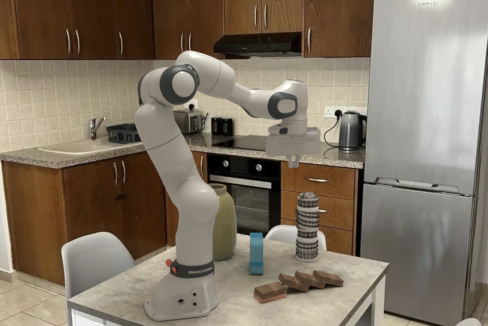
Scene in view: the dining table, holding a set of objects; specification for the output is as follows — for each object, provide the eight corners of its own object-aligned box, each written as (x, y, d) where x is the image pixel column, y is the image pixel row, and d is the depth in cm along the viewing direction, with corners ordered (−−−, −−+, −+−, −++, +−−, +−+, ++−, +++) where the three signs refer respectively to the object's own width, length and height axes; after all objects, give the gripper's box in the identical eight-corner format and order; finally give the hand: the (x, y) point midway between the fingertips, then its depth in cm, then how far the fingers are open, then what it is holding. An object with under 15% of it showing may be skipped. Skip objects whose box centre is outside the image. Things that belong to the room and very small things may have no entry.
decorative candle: (292, 260, 184) (293, 195, 179) (297, 251, 193) (298, 189, 188) (316, 263, 182) (318, 197, 177) (320, 254, 190) (322, 191, 185)
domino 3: (306, 292, 158) (282, 284, 156) (301, 285, 163) (277, 278, 161) (309, 286, 158) (284, 278, 156) (304, 280, 163) (279, 272, 160)
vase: (188, 249, 196) (186, 183, 191) (229, 244, 201) (229, 180, 196) (197, 265, 180) (195, 193, 175) (242, 260, 185) (242, 190, 180)
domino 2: (286, 299, 155) (259, 304, 152) (279, 293, 159) (253, 297, 156) (286, 293, 154) (259, 298, 151) (279, 287, 159) (253, 292, 156)
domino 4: (323, 288, 161) (299, 282, 158) (317, 282, 166) (293, 276, 163) (325, 283, 161) (301, 277, 158) (319, 277, 165) (296, 270, 162)
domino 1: (286, 293, 155) (262, 299, 150) (277, 286, 159) (254, 293, 155) (286, 287, 154) (262, 293, 150) (278, 281, 159) (254, 287, 154)
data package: (263, 275, 171) (263, 242, 169) (250, 275, 171) (250, 242, 169) (262, 262, 183) (262, 231, 180) (249, 262, 183) (249, 231, 180)
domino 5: (342, 286, 162) (318, 281, 159) (335, 280, 167) (312, 275, 164) (344, 281, 162) (320, 275, 159) (337, 275, 167) (314, 269, 164)
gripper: (315, 125, 175) (314, 163, 178) (263, 128, 167) (263, 168, 170) (325, 127, 169) (324, 166, 172) (272, 130, 161) (271, 171, 164)
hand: (293, 167), depth 171 cm, fingers closed
